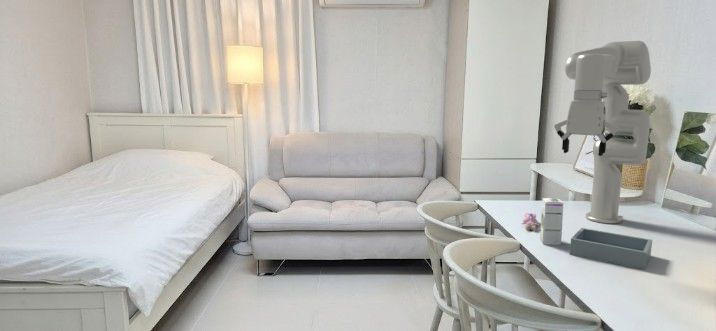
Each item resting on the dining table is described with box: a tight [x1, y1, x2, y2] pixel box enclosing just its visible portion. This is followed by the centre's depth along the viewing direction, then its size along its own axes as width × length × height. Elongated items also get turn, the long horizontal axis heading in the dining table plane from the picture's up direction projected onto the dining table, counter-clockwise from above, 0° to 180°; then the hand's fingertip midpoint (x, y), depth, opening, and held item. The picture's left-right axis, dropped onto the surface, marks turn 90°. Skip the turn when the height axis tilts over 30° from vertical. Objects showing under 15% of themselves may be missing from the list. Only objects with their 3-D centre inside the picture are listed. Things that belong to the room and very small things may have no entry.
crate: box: [569, 227, 653, 271], centre depth 143 cm, size 14×20×5 cm
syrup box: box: [539, 197, 564, 246], centre depth 154 cm, size 6×6×14 cm
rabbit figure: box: [521, 212, 541, 233], centre depth 172 cm, size 6×6×15 cm
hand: (582, 153), depth 141 cm, fingers open, 9 cm apart
